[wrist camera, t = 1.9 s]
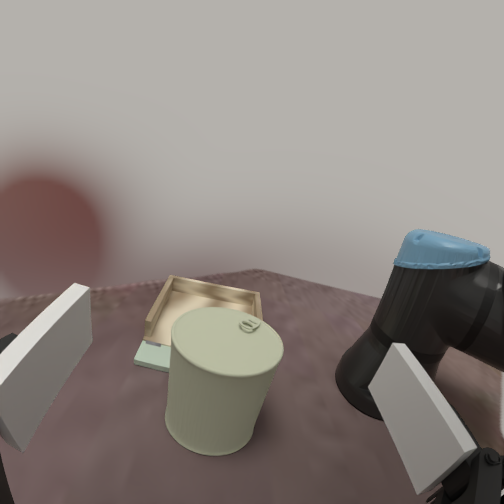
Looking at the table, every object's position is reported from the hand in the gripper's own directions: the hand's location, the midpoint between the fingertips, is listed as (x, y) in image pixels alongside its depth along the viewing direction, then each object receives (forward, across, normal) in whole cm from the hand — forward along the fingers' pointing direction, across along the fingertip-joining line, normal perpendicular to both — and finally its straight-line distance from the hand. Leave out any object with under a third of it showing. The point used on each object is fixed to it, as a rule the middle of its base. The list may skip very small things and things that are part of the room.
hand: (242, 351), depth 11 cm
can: (+10, 0, -18) cm, 21 cm away
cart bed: (+28, -2, -18) cm, 33 cm away
